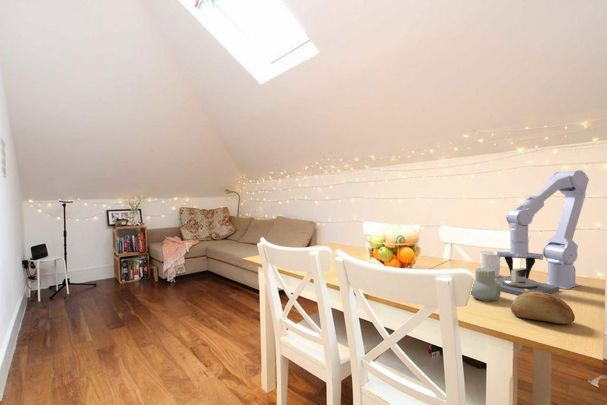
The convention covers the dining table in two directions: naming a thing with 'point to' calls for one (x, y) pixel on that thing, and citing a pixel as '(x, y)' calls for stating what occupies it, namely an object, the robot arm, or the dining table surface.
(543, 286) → the dial base
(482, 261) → the white cup
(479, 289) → the air freshener
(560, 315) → the bread roll
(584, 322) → the dining table surface
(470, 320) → the dining table surface
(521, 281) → the dial
